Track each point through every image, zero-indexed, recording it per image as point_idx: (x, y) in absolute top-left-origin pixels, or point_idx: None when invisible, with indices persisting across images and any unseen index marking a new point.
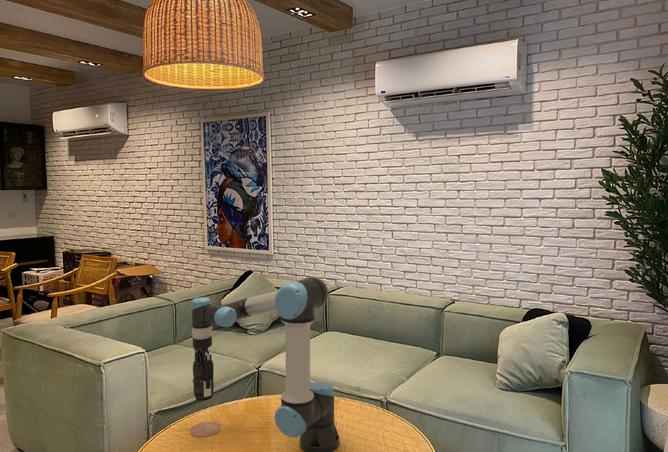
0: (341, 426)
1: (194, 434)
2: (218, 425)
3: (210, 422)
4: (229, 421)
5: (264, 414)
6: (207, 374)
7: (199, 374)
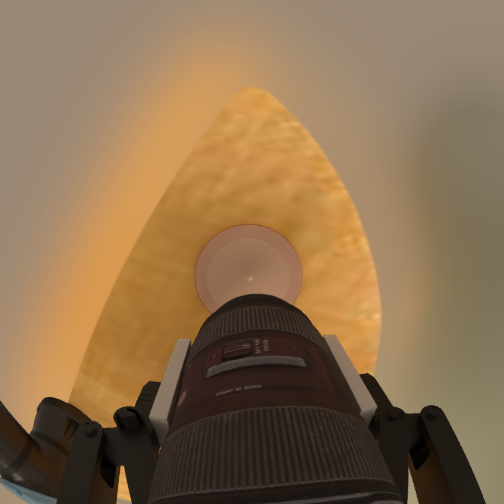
0: (120, 469)
1: (225, 231)
2: None
3: None
4: None
5: None
6: (70, 466)
7: (169, 448)
